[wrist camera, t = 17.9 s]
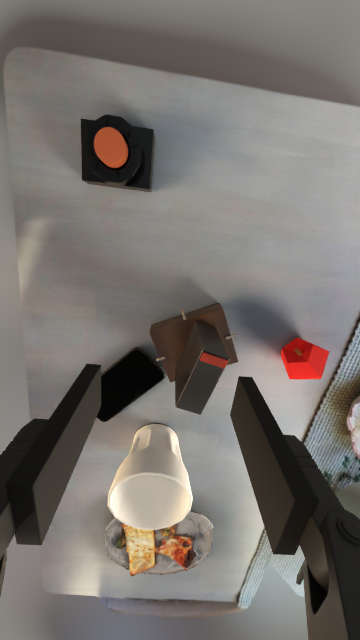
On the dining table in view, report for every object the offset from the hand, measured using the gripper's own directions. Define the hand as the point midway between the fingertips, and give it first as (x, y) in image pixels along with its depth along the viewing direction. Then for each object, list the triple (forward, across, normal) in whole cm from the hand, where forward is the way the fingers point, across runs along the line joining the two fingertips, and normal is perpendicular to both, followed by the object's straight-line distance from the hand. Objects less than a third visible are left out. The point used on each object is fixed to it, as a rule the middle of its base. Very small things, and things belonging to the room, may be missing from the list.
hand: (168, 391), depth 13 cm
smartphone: (+23, -7, -17) cm, 29 cm away
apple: (+23, +21, -8) cm, 32 cm away
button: (+20, -8, +16) cm, 27 cm away
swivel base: (+23, +4, -7) cm, 25 cm away
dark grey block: (+20, +4, -7) cm, 22 cm away
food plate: (+23, +2, -56) cm, 60 cm away
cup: (+23, 0, -29) cm, 37 cm away
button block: (+23, -8, +16) cm, 29 cm away
